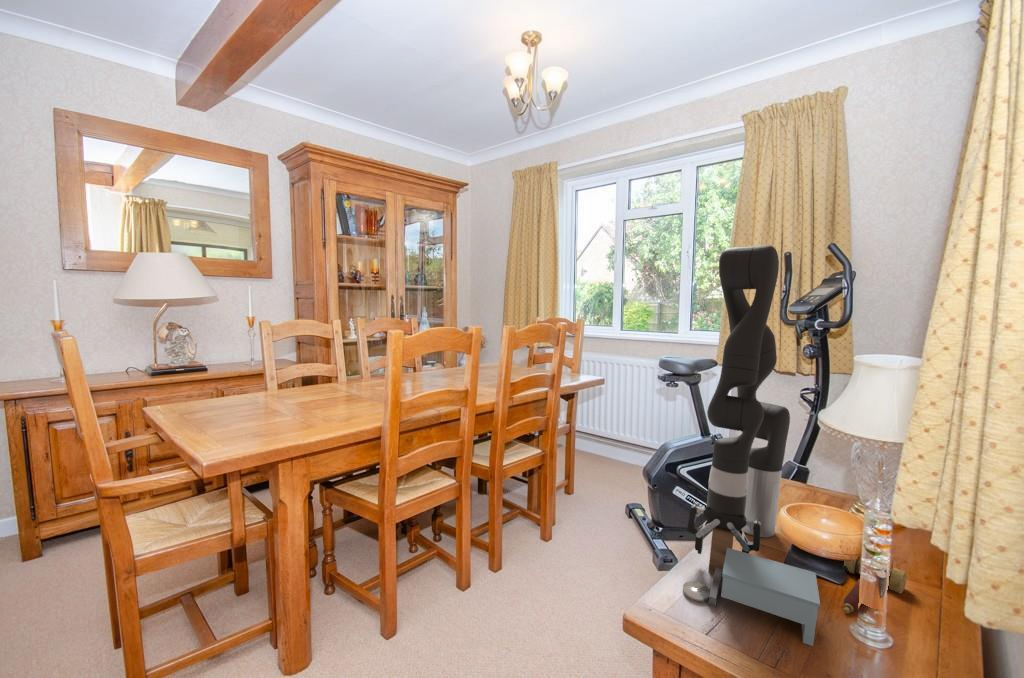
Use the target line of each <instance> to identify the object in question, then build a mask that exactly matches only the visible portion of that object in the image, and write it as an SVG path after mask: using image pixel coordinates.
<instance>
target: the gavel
mask: <svg viewBox="0 0 1024 678" xmlns="http://www.w3.org/2000/svg"><path fill="white" fill-rule="evenodd" d="M844 566H846V567H847V568H848V570H849V572H848V573H851V574H853V575H856V574H858V575H860V574H859V567H860V557H858V559H856V560H854V561H845V560H844V563H843V567H844ZM907 576H908V575H907V572H905V571H903V570H901V569H898V568H896V567H894V568H893V569H892V568H890V576H889V587H888V589H889V590H890V591H893V592H895V593H898V594H901V595H902V593H903V592H904V591H905V587H906V584H907V579H908V577H907ZM858 603H859V579H858V580H857V581H855V584H853V586H852V588H851V589H850V590H849V592H848V593H847V595H846V596H845V597H844V599H843V612H844V613H845V614H850V613H853V612H857V611H858V610H859V609H858ZM857 609H858V610H857Z"/></svg>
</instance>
